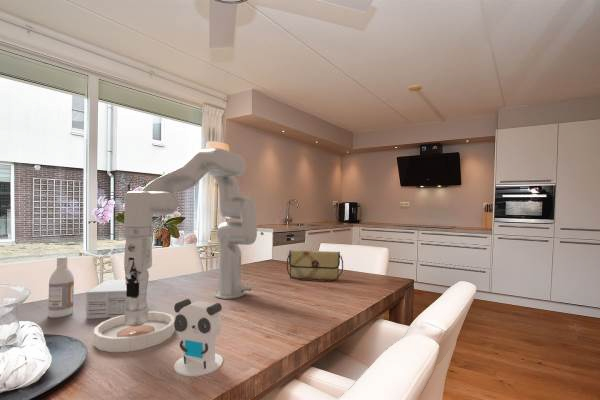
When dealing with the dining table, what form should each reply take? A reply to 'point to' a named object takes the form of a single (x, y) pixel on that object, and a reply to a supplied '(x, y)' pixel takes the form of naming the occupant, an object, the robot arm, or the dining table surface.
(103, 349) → the round tray
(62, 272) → the bath foam
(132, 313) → the plastic bottle
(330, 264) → the clutch purse
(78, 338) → the dining table surface
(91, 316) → the supplement box
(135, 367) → the dining table surface
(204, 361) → the panda figurine
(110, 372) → the dining table surface
